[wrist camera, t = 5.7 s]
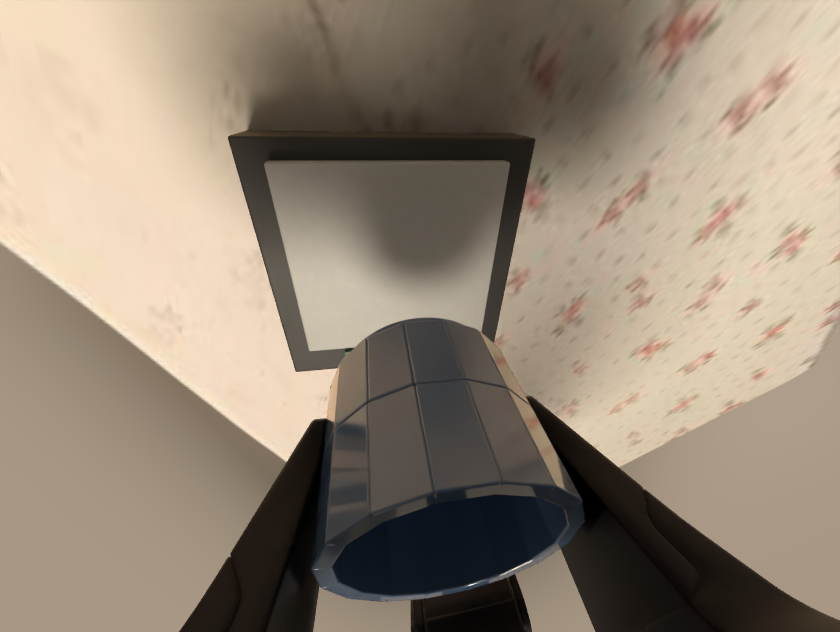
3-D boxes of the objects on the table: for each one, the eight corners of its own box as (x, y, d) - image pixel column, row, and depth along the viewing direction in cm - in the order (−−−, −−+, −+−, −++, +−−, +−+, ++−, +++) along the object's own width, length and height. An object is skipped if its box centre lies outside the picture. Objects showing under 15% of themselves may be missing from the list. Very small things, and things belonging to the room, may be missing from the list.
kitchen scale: (480, 331, 22) (495, 361, 19) (301, 345, 20) (293, 380, 18) (513, 133, 15) (543, 140, 12) (246, 130, 13) (220, 137, 11)
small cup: (486, 420, 12) (545, 575, 8) (344, 437, 12) (334, 617, 8) (513, 303, 9) (630, 463, 5) (319, 316, 8) (281, 516, 4)
